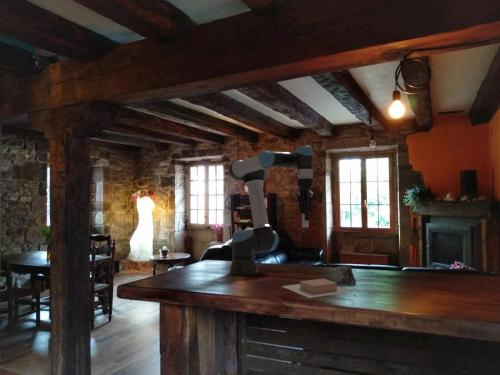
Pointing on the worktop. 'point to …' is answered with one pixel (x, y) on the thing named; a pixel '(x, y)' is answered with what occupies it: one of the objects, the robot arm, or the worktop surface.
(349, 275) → the stone
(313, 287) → the picture frame
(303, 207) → the robot arm
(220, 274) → the worktop surface
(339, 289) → the board
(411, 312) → the worktop surface
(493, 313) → the worktop surface
